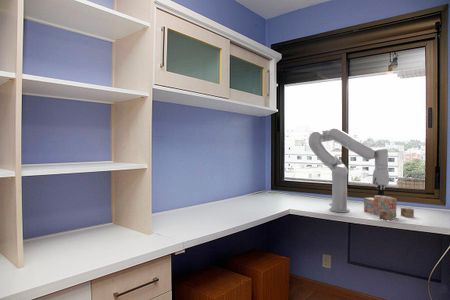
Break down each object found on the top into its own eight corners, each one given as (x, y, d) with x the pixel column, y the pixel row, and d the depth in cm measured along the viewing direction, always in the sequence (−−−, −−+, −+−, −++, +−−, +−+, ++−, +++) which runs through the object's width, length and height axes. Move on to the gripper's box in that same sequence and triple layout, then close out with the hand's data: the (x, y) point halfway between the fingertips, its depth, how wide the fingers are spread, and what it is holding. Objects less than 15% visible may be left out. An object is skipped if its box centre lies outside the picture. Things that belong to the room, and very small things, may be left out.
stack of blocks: (363, 211, 203) (363, 193, 203) (371, 210, 205) (371, 193, 205) (388, 218, 183) (388, 198, 183) (396, 217, 184) (396, 198, 184)
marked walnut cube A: (379, 219, 180) (379, 210, 180) (384, 218, 183) (384, 209, 183) (387, 220, 176) (387, 212, 176) (392, 219, 179) (392, 211, 179)
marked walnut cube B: (400, 215, 190) (400, 207, 190) (407, 215, 191) (408, 207, 191) (406, 217, 185) (406, 209, 185) (413, 217, 186) (413, 209, 186)
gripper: (384, 166, 199) (384, 194, 199) (368, 167, 194) (367, 195, 194) (394, 167, 192) (394, 195, 192) (377, 168, 187) (377, 197, 187)
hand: (380, 195), depth 193 cm, fingers closed
